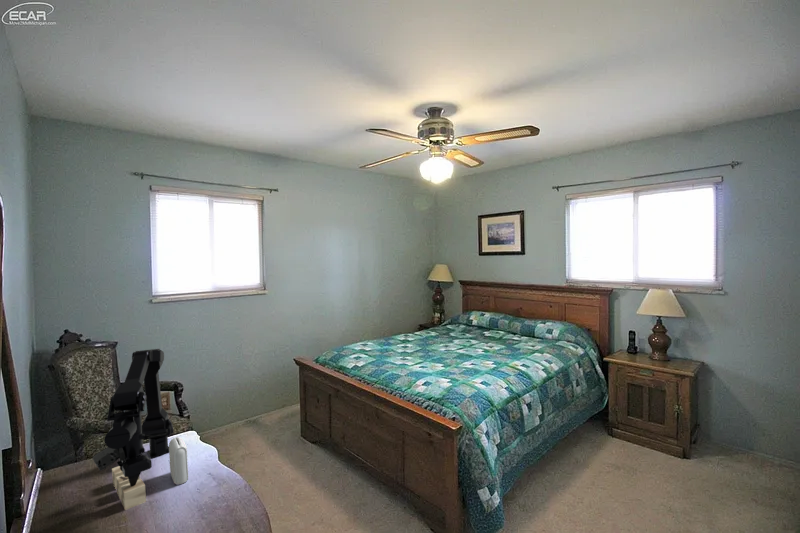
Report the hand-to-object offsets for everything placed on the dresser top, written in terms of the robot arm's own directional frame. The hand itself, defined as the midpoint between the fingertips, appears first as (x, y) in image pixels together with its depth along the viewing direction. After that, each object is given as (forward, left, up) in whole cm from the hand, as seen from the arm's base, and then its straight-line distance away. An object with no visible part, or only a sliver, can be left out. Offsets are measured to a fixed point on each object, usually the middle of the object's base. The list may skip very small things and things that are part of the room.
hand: (132, 485), depth 110 cm
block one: (-14, 0, -5) cm, 15 cm away
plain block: (0, 0, -5) cm, 5 cm away
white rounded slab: (-4, +13, -5) cm, 15 cm away
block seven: (-7, 0, -5) cm, 9 cm away
